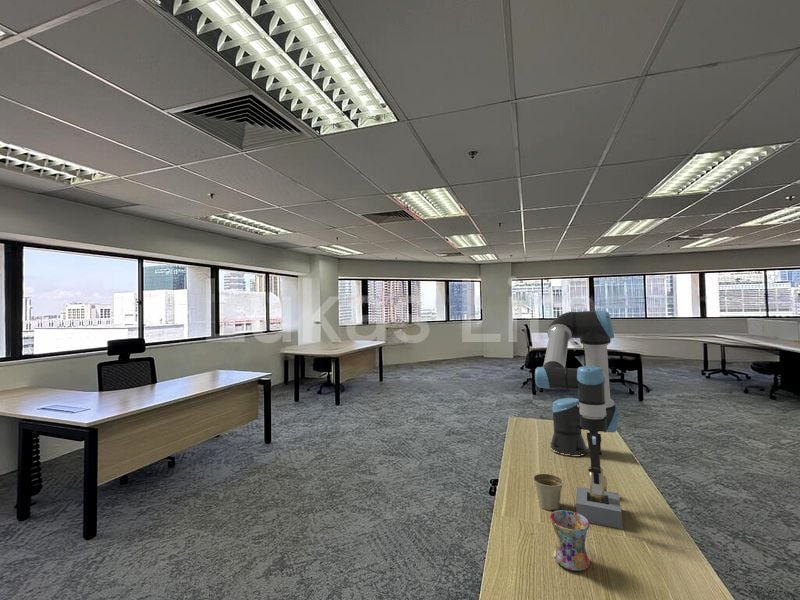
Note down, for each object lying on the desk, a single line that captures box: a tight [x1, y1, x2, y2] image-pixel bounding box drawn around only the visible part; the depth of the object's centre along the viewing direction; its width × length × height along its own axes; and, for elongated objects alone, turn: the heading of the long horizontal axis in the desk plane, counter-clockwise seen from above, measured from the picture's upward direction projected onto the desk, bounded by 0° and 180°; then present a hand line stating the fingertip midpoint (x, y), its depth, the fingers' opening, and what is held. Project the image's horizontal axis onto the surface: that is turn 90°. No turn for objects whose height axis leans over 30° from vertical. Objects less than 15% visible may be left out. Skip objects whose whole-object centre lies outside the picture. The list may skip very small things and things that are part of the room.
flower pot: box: [532, 473, 564, 511], centre depth 120 cm, size 9×9×9 cm
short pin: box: [603, 475, 608, 491], centre depth 126 cm, size 4×4×6 cm
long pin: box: [588, 466, 605, 504], centre depth 114 cm, size 4×4×14 cm
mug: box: [549, 509, 591, 572], centre depth 94 cm, size 12×9×11 cm
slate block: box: [575, 486, 623, 530], centre depth 114 cm, size 12×12×5 cm
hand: (596, 484), depth 114 cm, fingers open, 13 cm apart
